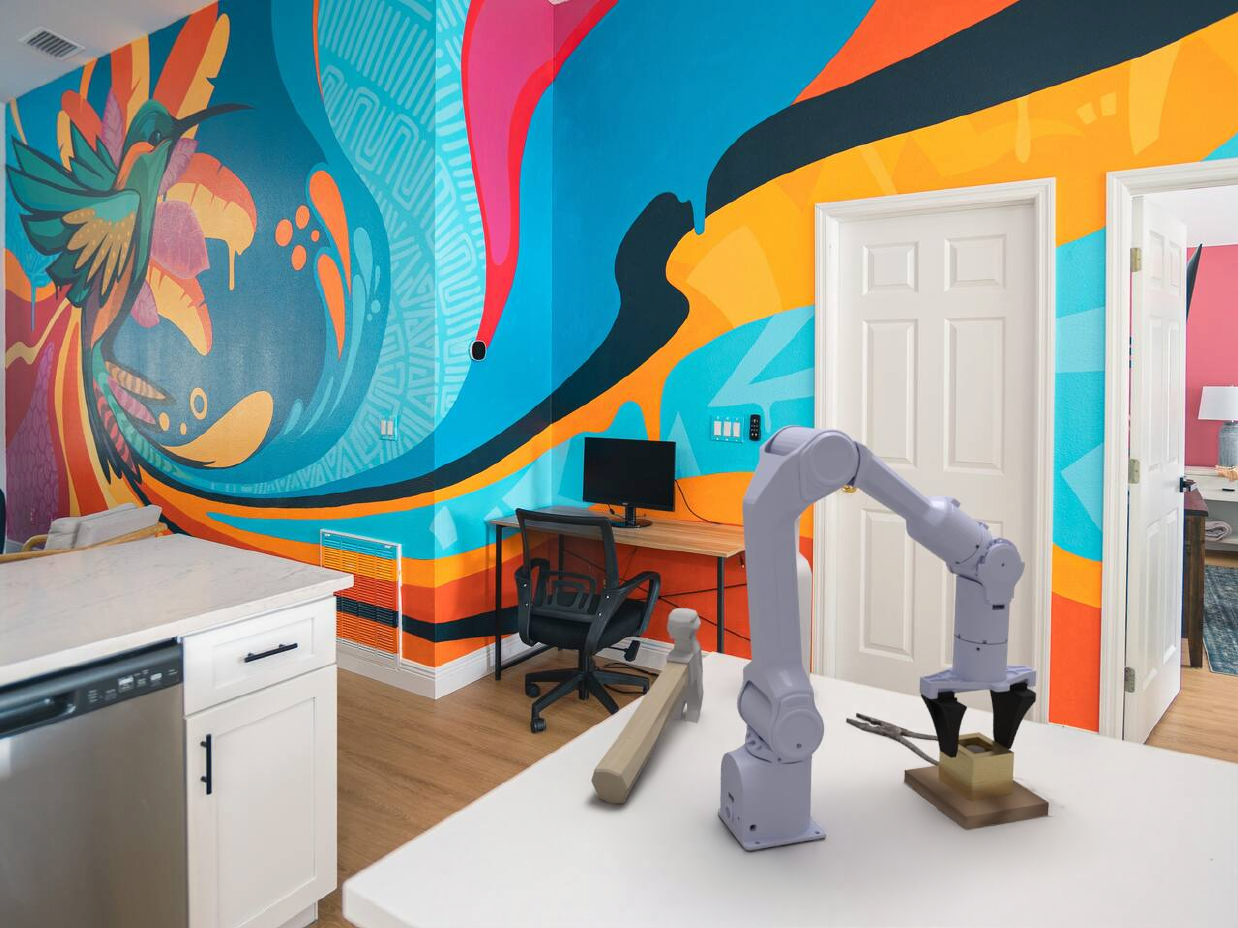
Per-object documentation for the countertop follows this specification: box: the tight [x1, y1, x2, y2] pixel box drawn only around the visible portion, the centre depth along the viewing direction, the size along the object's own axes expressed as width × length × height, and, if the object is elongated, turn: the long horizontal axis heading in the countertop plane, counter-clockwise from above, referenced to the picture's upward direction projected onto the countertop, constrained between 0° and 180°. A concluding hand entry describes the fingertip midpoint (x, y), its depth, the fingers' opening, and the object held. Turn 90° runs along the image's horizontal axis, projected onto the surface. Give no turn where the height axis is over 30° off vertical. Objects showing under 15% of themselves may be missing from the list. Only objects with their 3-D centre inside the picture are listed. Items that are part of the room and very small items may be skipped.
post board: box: [903, 745, 1050, 831], centre depth 94 cm, size 11×11×6 cm
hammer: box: [590, 607, 704, 805], centre depth 105 cm, size 16×5×30 cm
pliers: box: [845, 712, 939, 766], centre depth 108 cm, size 10×1×20 cm
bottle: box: [794, 514, 813, 682], centre depth 123 cm, size 8×8×30 cm
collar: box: [938, 732, 1015, 801], centre depth 93 cm, size 6×6×5 cm
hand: (975, 749), depth 93 cm, fingers open, 7 cm apart
